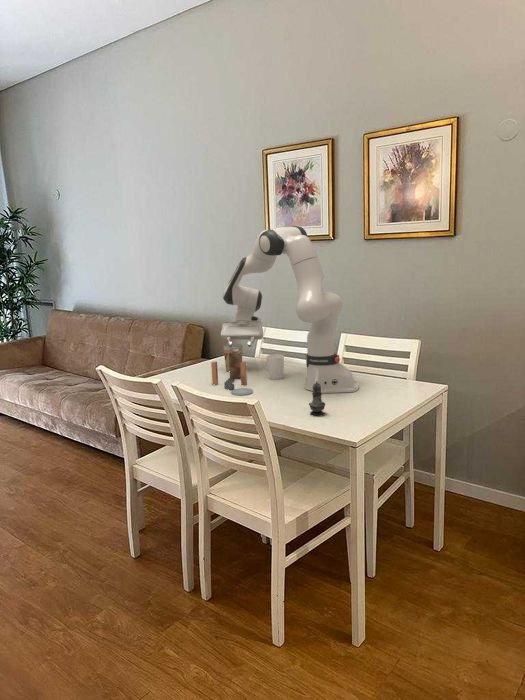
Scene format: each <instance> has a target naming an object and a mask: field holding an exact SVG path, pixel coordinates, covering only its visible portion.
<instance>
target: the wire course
mask: <svg viewBox="0 0 525 700" xmlns="http://www.w3.org/2000/svg"><path fill="white" fill-rule="evenodd" d="M210 364H211V365H210V366H211V382H212V385H213V384H215V385H214V386H218V384H219V374H218V373H219V372H218V371H219V369H218V361H211V362H210ZM240 367H241V379H240V384H241V386H242V385H244V386H245V385H246V386H247V385H248V379H247V378H248V377H247V376H248V375H247V362H246V361H242V362H241V363H240ZM235 380H236V379H235V378H234V376H231V377H230V376H229V377H228V378H227V379H226V381H224V383H223V385H224V389H225V390H228V389H229V391H231V390H234V389H235V384H234V382H235ZM244 386H243V387H244Z"/></svg>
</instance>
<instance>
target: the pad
mask: <svg viewBox="0 0 525 700" xmlns="http://www.w3.org/2000/svg"><path fill="white" fill-rule="evenodd" d="M253 393H254V389H251V388H248V387H241V388H240V387H239V388H234V390H232V391H231V390H230V394H231V395H233V396H236V397H237V396H238V397H239V396H240V397H244V396H249V395H252V394H253Z"/></svg>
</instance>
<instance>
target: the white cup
mask: <svg viewBox="0 0 525 700" xmlns="http://www.w3.org/2000/svg"><path fill="white" fill-rule="evenodd" d="M265 360H266V368H267V375H268V376H267V377H268V379H269V380H281V378H282V379H283V378H284V372H285V371H284V370H285V369H284V368H285V366H284V365H285V356H284V355H283V354H279V353H277V354H276V353H275V354H268V355H266V359H265Z"/></svg>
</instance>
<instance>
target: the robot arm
mask: <svg viewBox="0 0 525 700" xmlns="http://www.w3.org/2000/svg"><path fill="white" fill-rule="evenodd" d="M281 255H287V256H288V258H289V261H290V265H291V267H292V271H293V274H294V277H295V280H296V284H297V292H298V302H297V305H296V308H295V311H296V315H297V318H299V320H301V321H302V322H304V323H309V324H311V327H310V329H309V331H308V333H307V336H306V344H307V345H306V346H307V347H306V348H307V349H306V350H307V353H306V357H305V359H306V360H305V364H306V376H305V383H304V386H303V388H304V389H306V390H308V391H312V392H313V385H314V384H315V383H316V381H317V383H318V384H320V385H321V393H322V394H335V393H336V394H338V393H355V392H356V391H358V390H359V389H358V388H360V386H359V385H360V384H359V383H358V382H357V381H355V380H354V377H353V373H352V371H351V370H350V369H349V368H347V366H345V365H343V364H342V363H341V362H340V360H341V358H340V354H336V353H335V333H336V327H337V322H338V319H339V316H340V313H341V311H342V309H343V306H344V305H343V300H342V298H341V297H340V295H339V294H337V293H334V292H329V291H327V292H326V291H325V292H324V291H323V279H324V272H323V269H322V266H321V263H320V260H319V258H318V255H317V252H316V249H315V247H314V245H313V243H312V241H311V239H310V238H309V236H308V234H307V231H306V230H305V229H304V227H301V226H298V225H292V226H284V227H283V226H281V227H275V228H273V229H270V228H269V229H264V230H262V231H261V232H260V233H259V235H258V236H257V238H256V240H255V242H254V245H253V248H252V251H251V252H250V253H249V255H247V256H245V257H242V259H241V260H240V261H239V263H238V265H237V267H236V269H235V270H234V272H233V274H232V276H231V277H230V280H229V281H228V283H227V284H226V286H225V288H224V290H223V293H222V299H223V301H224V303H226V304H227V305H231V306H237V309H236V310H237V311H236V314H235V320H234V321H226V322H224V323H222V326H221V331H220V336H221V338H222V340H225V341H226V340H227V342H228V343H227V345H228V346H229V347H232V344H233V342H232V341H233V340H248V342H247V345H248V346H247V347H248V348H249V347H251V348H252V346H253V344H254V343H255V341H256V340H262V339H264V329H263V322H262V319H261V318H260V317H259V316H255V315H254V314H255V313H256V312H257V311H259V310H260V308H261V306H262V300H263V294H262V292H261V290H259V289H255V288H252V287H249V286H245V285H244V286H243V285H241V284H240V283H241V281H242V278H243V277H244V276H245V275H248V274H258V273H259V274H260V273H266V272H268V271H270V270H271V269H272V268H273V266H274V264H275V262H276V260H277V258H278V256H281Z"/></svg>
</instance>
